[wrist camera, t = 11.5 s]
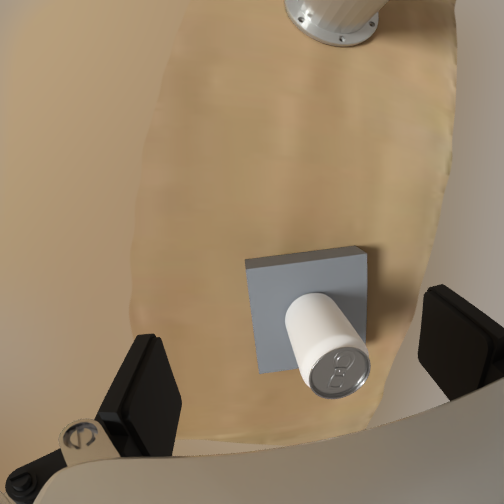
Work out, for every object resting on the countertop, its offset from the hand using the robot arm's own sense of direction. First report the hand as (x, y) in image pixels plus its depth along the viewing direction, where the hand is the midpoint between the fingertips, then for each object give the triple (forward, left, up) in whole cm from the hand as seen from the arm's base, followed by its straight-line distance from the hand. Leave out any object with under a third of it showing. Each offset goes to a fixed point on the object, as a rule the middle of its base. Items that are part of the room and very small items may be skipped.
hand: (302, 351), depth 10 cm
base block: (+11, +5, -29) cm, 31 cm away
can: (+11, +5, -25) cm, 28 cm away
